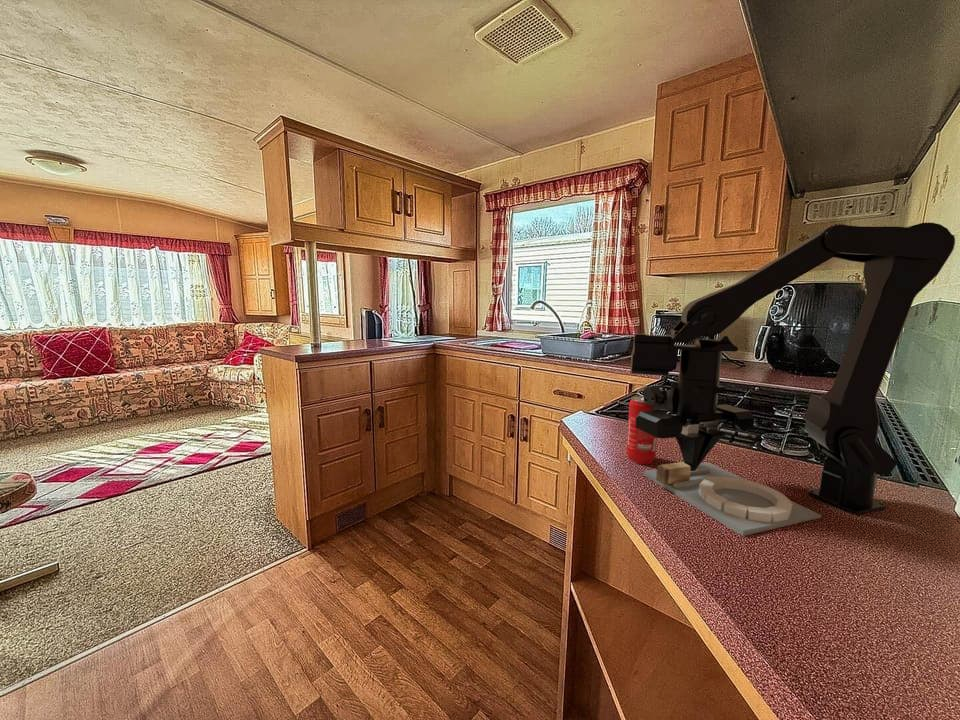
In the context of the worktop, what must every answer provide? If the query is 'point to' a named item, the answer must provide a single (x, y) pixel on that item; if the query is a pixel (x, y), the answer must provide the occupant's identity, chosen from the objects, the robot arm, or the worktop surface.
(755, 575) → the worktop surface
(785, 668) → the worktop surface
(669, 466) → the bar
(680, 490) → the dock board
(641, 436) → the beverage can
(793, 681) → the worktop surface
